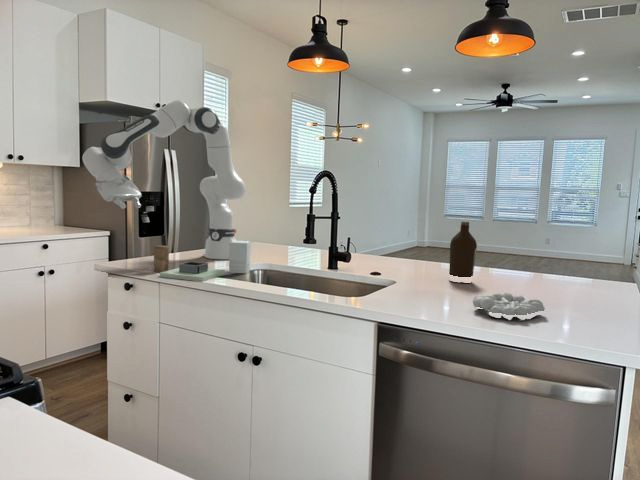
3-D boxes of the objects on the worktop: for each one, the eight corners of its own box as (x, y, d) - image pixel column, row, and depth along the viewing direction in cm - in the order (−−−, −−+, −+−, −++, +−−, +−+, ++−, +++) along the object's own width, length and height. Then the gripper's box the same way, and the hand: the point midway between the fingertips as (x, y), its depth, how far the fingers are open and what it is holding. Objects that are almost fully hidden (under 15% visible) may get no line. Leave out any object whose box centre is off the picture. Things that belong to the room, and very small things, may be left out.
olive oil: (451, 283, 201) (456, 222, 199) (444, 278, 212) (448, 220, 209) (477, 284, 202) (482, 223, 199) (468, 279, 212) (473, 221, 210)
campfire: (475, 302, 169) (477, 285, 169) (542, 311, 161) (544, 293, 161) (468, 318, 149) (470, 299, 148) (544, 329, 141) (546, 309, 140)
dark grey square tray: (189, 268, 197) (189, 261, 197) (208, 270, 195) (209, 263, 194) (177, 272, 189) (178, 264, 189) (197, 274, 187) (198, 266, 186)
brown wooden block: (159, 270, 199) (160, 245, 198) (168, 271, 198) (168, 246, 197) (153, 271, 196) (154, 246, 194) (162, 272, 195) (163, 247, 193)
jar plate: (185, 269, 203) (185, 265, 203) (225, 273, 198) (225, 270, 198) (159, 276, 186) (159, 272, 186) (202, 281, 181) (203, 277, 181)
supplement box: (250, 270, 208) (251, 241, 206) (246, 274, 200) (247, 243, 199) (233, 269, 208) (234, 240, 207) (228, 272, 201) (229, 241, 199)
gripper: (98, 175, 190) (119, 202, 188) (132, 177, 209) (151, 201, 208) (88, 186, 191) (109, 213, 190) (123, 187, 211) (142, 211, 209)
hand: (132, 207), depth 199 cm, fingers open, 8 cm apart
